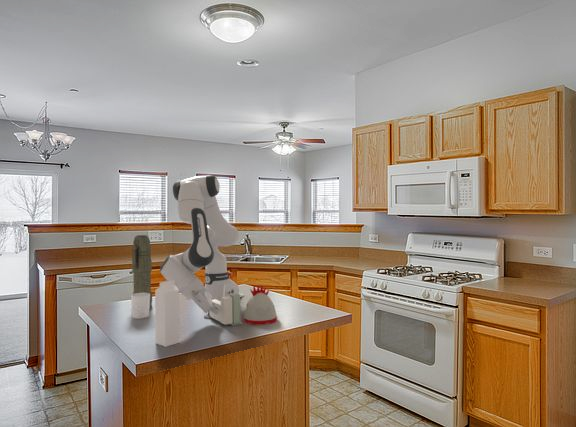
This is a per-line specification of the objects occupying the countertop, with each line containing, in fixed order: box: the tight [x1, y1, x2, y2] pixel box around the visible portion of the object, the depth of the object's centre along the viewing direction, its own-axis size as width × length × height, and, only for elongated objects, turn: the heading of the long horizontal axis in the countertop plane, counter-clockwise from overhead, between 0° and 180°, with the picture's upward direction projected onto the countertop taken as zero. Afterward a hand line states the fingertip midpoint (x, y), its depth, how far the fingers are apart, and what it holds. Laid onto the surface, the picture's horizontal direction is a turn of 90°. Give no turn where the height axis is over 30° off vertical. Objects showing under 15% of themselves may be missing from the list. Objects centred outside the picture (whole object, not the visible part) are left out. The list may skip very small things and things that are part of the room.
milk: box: [154, 280, 181, 348], centre depth 145 cm, size 6×6×22 cm
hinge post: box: [203, 298, 215, 320], centre depth 179 cm, size 6×6×8 cm
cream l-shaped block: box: [209, 296, 233, 326], centre depth 171 cm, size 16×4×10 cm, turn 34°
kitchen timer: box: [243, 284, 278, 326], centre depth 174 cm, size 14×14×15 cm
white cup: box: [130, 293, 151, 320], centre depth 181 cm, size 8×8×10 cm
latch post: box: [228, 294, 245, 327], centre depth 168 cm, size 5×5×12 cm
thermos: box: [131, 234, 153, 309], centre depth 198 cm, size 9×12×35 cm
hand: (217, 312), depth 166 cm, fingers closed
